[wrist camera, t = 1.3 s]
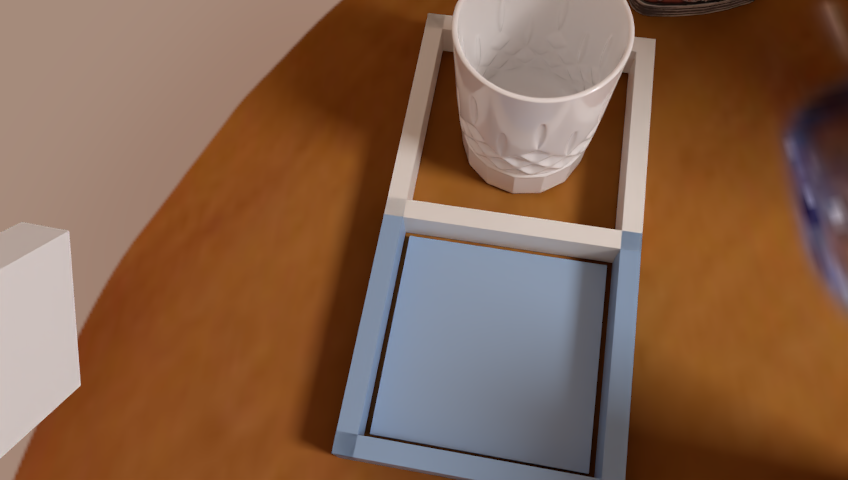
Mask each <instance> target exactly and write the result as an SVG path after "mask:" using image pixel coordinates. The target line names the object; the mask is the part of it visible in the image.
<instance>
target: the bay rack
mask: <svg viewBox="0 0 848 480" xmlns="http://www.w3.org/2000/svg"><path fill="white" fill-rule="evenodd" d="M452 17H453V16H450V15H441V14H432V13H428V16H427V21H426V25H425V30H424V34H423V39H422V44H421V48H420V53H419V57H418V62H417V66H416V71H415V75H414V80H413V84H412V89H411V94H410V98H409V103H408V107H407V112H406V116H405V121H404V125H403V130H402V135H401V139H400V144H399V148H398V153H397V157H396V162H395V166H394V171H393V175H392V180H391V185H390V189H389V194H388V198H387V203H386V207H385V212H384V216H383V221H382V225H381V230H380V235H379V239H378V244H377V248H376V253H375V257H374V262H373V266H372V271H371V275H370V280H369V285H368V289H367V294H366V298H365V303H364V307H363V312H362V316H361V321H360V326H359V330H358V335H357V339H356V344H355V348H354V353H353V357H352V362H351V366H350V371H349V376H348V380H347V385H346V389H345V394H344V398H343V403H342V407H341V412H340V416H339V421H338V426H337V430H336V435H335V439H334V444H333V448H332V454H334V455H335V456H337V457H339V458H344V459H350V460H355V461H360V462H366V463H371V464H377V465H382V466H387V467H393V468H398V469H403V470H409V471H414V472H420V473H425V474H430V475H436V476H441V477H446V478H452V479H457V480H625V475H626V461H627V446H628V432H629V418H630V403H631V389H632V375H633V360H634V346H635V331H636V317H637V303H638V288H639V274H640V259H641V245H642V231H643V216H644V202H645V188H646V173H647V159H648V144H649V130H650V116H651V101H652V87H653V73H654V58H655V44H656V39H650V38H641V37H634V43H633V47H632V51H631V53H630V56H629V58H628V60H627V62H626V65H625V67H624V69H623V71H622V72H624V73H628V85H627V97H626V109H625V120H624V132H623V144H622V156H621V167H620V179H619V191H618V202H617V214H616V226H615V229H608V228H601V227H594V226H587V225H580V224H574V223H567V222H560V221H553V220H546V219H539V218H532V217H525V216H518V215H511V214H504V213H497V212H490V211H483V210H476V209H469V208H462V207H456V206H449V205H442V204H435V203H428V202H421V201H414V200H412V199H413V194H414V189H415V184H416V180H417V175H418V170H419V165H420V160H421V155H422V150H423V145H424V141H425V136H426V131H427V126H428V121H429V116H430V111H431V106H432V102H433V97H434V92H435V87H436V82H437V77H438V72H439V67H440V63H441V58H442V53H443V51H450V52H453V40H452ZM406 232H408V233H415V234H422V235H428V236H435V237H442V238H449V239H455V240H462V241H469V242H475V243H482V244H489V245H495V246H502V247H509V248H516V249H522V250H529V251H536V252H542V253H549V254H556V255H563V256H569V257H576V258H583V259H589V260H596V261H603V262H609V263H612V273H611V285H610V296H609V308H608V320H607V331H606V343H605V355H604V367H603V378H602V390H601V402H600V414H599V425H598V437H597V449H596V460H595V472H594V478H593V477H588V476H582V475H577V474H571V473H566V472H560V471H555V470H549V469H544V468H538V467H533V466H527V465H522V464H516V463H511V462H505V461H500V460H494V459H489V458H483V457H478V456H472V455H467V454H461V453H456V452H450V451H445V450H439V449H434V448H428V447H423V446H417V445H412V444H406V443H401V442H395V441H390V440H384V439H379V438H373V437H368V436H364V433H365V428H366V423H367V418H368V413H369V409H370V404H371V399H372V394H373V389H374V384H375V379H376V374H377V370H378V365H379V360H380V355H381V350H382V345H383V340H384V335H385V331H386V326H387V321H388V316H389V311H390V306H391V301H392V297H393V292H394V287H395V282H396V277H397V272H398V267H399V262H400V258H401V253H402V248H403V243H404V238H405V233H406ZM606 273H607V265H601V264H595V263H588V262H581V261H574V260H568V259H561V258H554V257H548V256H541V255H534V254H528V253H521V252H514V251H508V250H501V249H494V248H488V247H481V246H474V245H468V244H461V243H454V242H448V241H441V240H434V239H428V238H421V237H414V236H410V237H409V242H408V247H407V252H406V257H405V262H404V267H403V272H402V277H401V282H400V287H399V292H398V297H397V302H396V307H395V311H394V316H393V321H392V326H391V331H390V336H389V341H388V346H387V351H386V356H385V361H384V366H383V371H382V376H381V381H380V386H379V391H378V395H377V400H376V405H375V410H374V415H373V420H372V425H371V430H370V435H375V436H381V437H386V438H392V439H397V440H403V441H408V442H414V443H419V444H425V445H430V446H436V447H441V448H447V449H452V450H458V451H464V452H469V453H475V454H480V455H486V456H491V457H497V458H502V459H508V460H513V461H519V462H524V463H530V464H535V465H541V466H546V467H552V468H557V469H563V470H568V471H574V472H579V473H585V474H589V466H590V455H591V444H592V432H593V421H594V410H595V398H596V387H597V375H598V364H599V353H600V341H601V330H602V319H603V307H604V296H605V285H606Z"/></svg>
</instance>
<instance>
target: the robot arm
mask: <svg viewBox="0 0 848 480" xmlns="http://www.w3.org/2000/svg"><path fill="white" fill-rule="evenodd" d="M79 386H81V382H80V369H79V356H78V342H77V329H76V316H75V302H74V290H73V276H72V263H71V249H70V235H69V231H68V230H64V229H58V228H52V227H47V226H42V225H36V224H31V223H26V222H20V223H19V224H16V225H14V226H12V227H10V228H8V229H6V230H4V231H2V232H0V458H1V457H3V456H4V455H5V454H6V453H7V452H8V451H9V450H10V449H11V448H12V447H14V446H15V445H16V444H17V443H18V442H19V441H20V440H21V439H22V438H23V437H25V436H26V435H27V434H28V433H29V432H30V431H31V430H32V429H33V428H34V427H36V426H37V425H38V424H39V423H40V422H41V421H42V420H43V419H44V418H45V417H47V416H48V415H49V414H50V413H51V412H52V411H53V410H54V409H55V408H56V407H58V406H59V405H60V404H61V403H62V402H63V401H64V400H65V399H66V398H67V397H69V396H70V395H71V394H72V393H73V392H74V391H75V390H76V389H77V388H78V387H79Z"/></svg>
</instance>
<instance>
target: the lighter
mask: <svg viewBox="0 0 848 480" xmlns="http://www.w3.org/2000/svg"><path fill="white" fill-rule="evenodd" d="M753 1H754V0H629V3H630V5H631V7H632V8H633V9H634V10H635V11H636V12H638V13H640V14H642V15H646V16H672V17H675V16H689V15H702V14H707V13H713V12H718V11H723V10H728V9H731V8H734V7H738V6H741V5H744V4H748V3H751V2H753Z"/></svg>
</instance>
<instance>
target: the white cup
mask: <svg viewBox="0 0 848 480" xmlns="http://www.w3.org/2000/svg"><path fill="white" fill-rule="evenodd" d="M634 35H635V28H634V20H633V16H632V12H631V9H630V7H629V5H628V3H627V1H626V0H458V2H457V4H456V6H455V9H454V13H453V17H452V40H453V52H454V65H455V79H456V93H457V102H458V109H459V118H460V124H461V129H462V139H463V144H464V147H465V151H466V154H467V158H468V161H469V164H470V166H471V167H472V168H473V169H474V170H475V171H476V172H477V173H478V174H479V175H480V176H481V177H482V178H483V179H484V180H485V182H486V183H488V184H490V185H493V186H495V187H498V188H500V189H503V190H505V191H508V192H510V193H541V192H543V191H545V190H547V189H550V188H552V187H554V186H556V185H558V184H561V183H563V182H564V181H565V180H566V179H567V178H568V177H569V175H570V174H571V173H572V172H573V170H574V169H575V168H576V167H577V165H578V164H579V163H580V161H581V159H582V157H583V154H584V152H585V149H586V148H587V146H588V144H589V143H590V141H591V139H592V137H593V136H594V134H595V132H596V129H597V127H598V125H599V123H600V121H601V119H602V117H603V115H604V113H605V110H606V108H607V106H608V103H609V101H610V99H611V97H612V94H613V92H614V90H615V87H616V85H617V83H618V81H619V78H620V76H621V74H622V71H623V69H624V67H625V65H626V62H627V60H628V58H629V56H630V53H631V51H632V47H633V43H634Z"/></svg>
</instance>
